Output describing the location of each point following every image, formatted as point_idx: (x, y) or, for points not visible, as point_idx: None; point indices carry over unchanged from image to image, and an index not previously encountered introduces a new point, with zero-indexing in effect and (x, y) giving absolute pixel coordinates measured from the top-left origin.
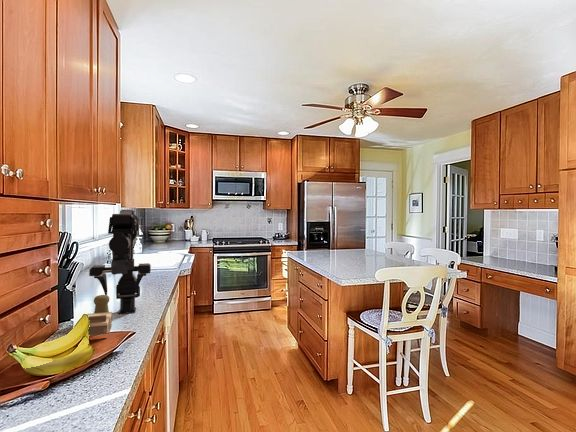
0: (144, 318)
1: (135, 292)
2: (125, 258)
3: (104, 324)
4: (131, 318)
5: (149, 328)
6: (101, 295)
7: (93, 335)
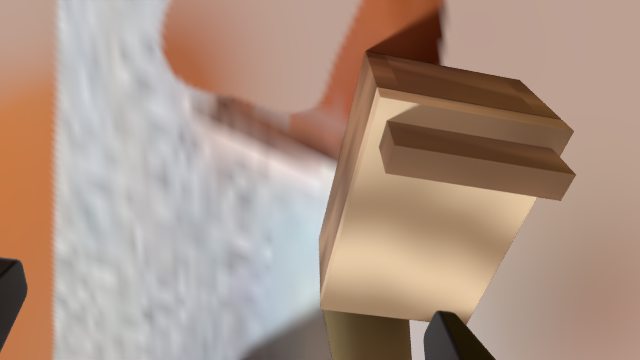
0: (138, 284)
1: (4, 262)
2: None
3: (397, 95)
4: (210, 308)
5: (89, 110)
6: None
7: (452, 77)
